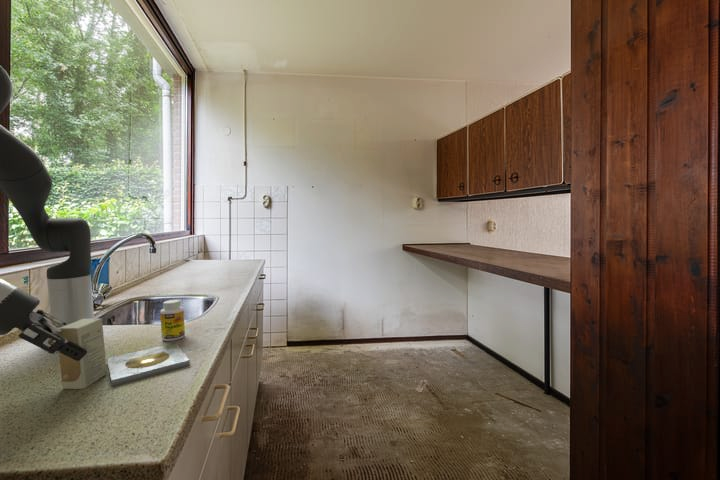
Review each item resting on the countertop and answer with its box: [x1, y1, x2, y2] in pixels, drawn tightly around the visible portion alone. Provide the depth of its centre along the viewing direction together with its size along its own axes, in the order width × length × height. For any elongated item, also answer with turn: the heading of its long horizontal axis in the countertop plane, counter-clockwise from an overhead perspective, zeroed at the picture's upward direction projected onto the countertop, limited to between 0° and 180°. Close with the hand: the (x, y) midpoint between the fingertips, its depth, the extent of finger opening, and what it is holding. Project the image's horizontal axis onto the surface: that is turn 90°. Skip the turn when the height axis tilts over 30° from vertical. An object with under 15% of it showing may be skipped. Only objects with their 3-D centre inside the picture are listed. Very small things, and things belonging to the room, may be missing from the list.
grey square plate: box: [106, 342, 191, 387], centre depth 76 cm, size 14×14×1 cm
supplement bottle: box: [160, 299, 186, 342], centre depth 92 cm, size 6×6×10 cm
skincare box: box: [58, 318, 108, 390], centre depth 68 cm, size 6×4×12 cm
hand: (83, 349), depth 68 cm, fingers open, 8 cm apart
